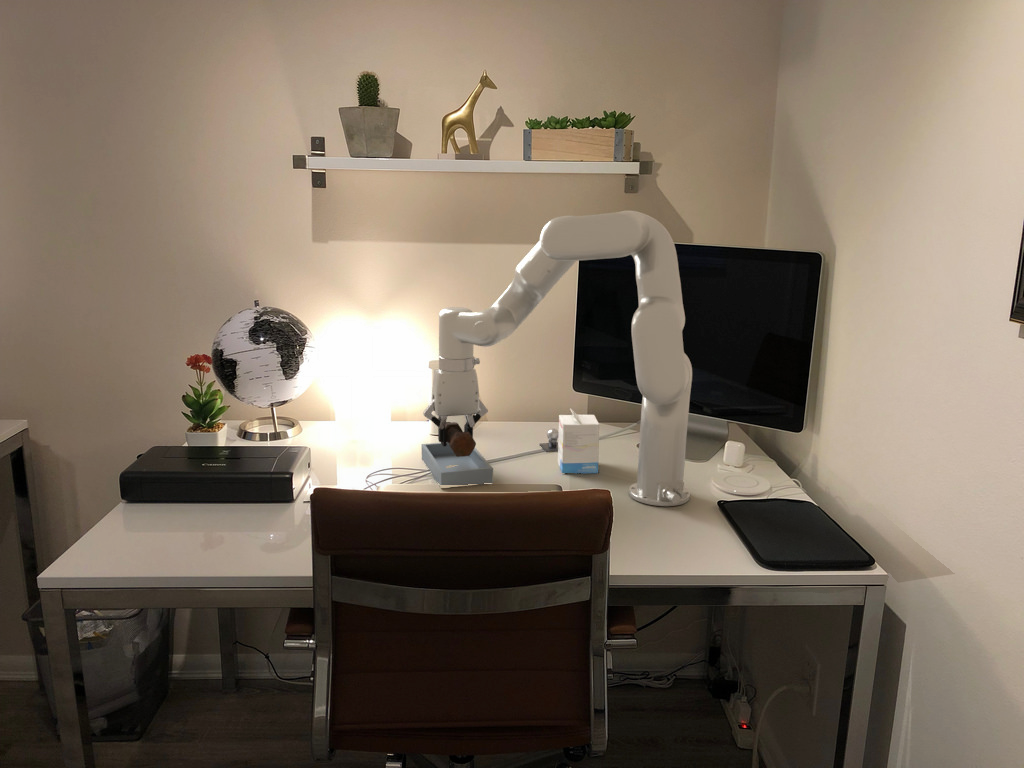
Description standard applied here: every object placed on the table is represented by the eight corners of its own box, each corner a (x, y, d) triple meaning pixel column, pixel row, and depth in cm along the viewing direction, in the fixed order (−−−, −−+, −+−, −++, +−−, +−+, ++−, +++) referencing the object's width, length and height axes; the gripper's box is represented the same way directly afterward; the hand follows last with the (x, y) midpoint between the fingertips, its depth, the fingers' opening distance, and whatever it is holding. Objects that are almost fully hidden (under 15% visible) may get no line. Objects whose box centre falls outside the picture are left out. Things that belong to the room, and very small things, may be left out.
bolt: (450, 443, 193) (467, 461, 179) (432, 434, 191) (447, 452, 177) (462, 421, 193) (479, 438, 179) (444, 412, 191) (460, 428, 177)
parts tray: (492, 484, 179) (492, 468, 178) (441, 488, 176) (441, 472, 175) (468, 454, 198) (468, 440, 197) (421, 458, 195) (421, 444, 194)
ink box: (598, 474, 187) (601, 417, 183) (561, 474, 186) (563, 417, 183) (592, 461, 195) (594, 406, 192) (557, 461, 194) (558, 406, 191)
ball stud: (565, 450, 203) (566, 430, 202) (546, 452, 201) (547, 432, 200) (558, 444, 207) (559, 425, 206) (539, 445, 206) (540, 426, 205)
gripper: (488, 359, 187) (487, 436, 191) (414, 362, 182) (414, 441, 186) (498, 366, 180) (496, 446, 185) (421, 369, 175) (421, 451, 179)
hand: (455, 442), depth 185 cm, fingers closed on bolt, 4 cm apart
